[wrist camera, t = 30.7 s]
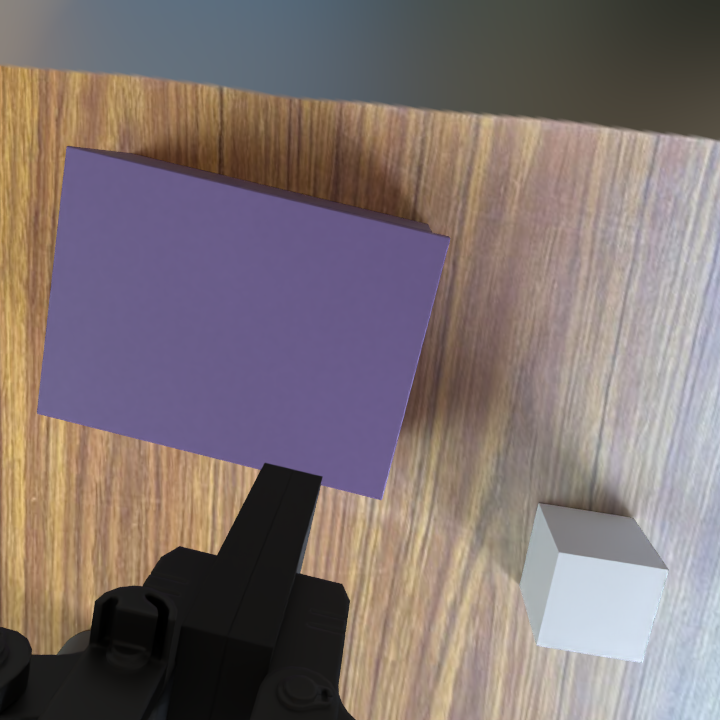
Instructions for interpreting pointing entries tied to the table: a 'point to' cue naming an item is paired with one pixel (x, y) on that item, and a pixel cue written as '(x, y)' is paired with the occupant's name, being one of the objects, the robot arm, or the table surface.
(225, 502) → the table surface
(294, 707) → the robot arm
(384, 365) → the lid
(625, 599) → the white cube
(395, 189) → the table surface
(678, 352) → the table surface
